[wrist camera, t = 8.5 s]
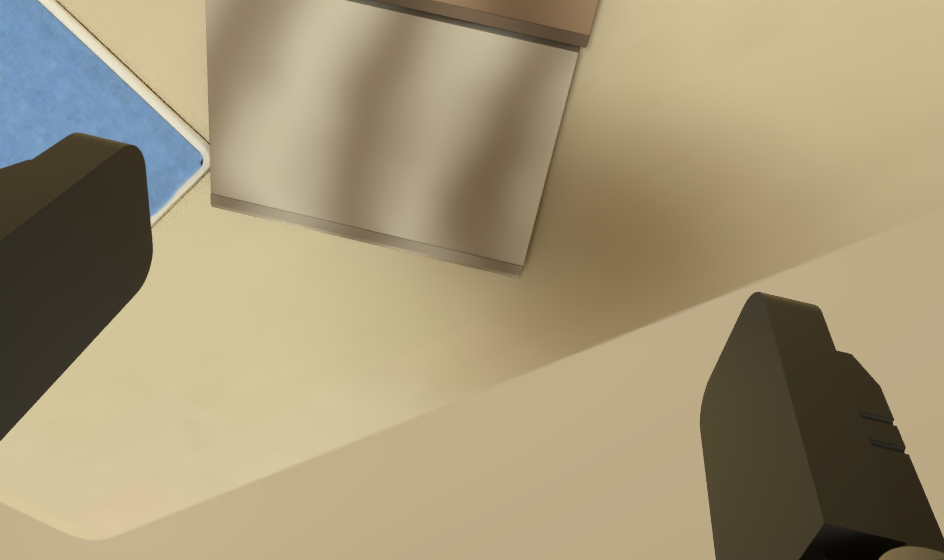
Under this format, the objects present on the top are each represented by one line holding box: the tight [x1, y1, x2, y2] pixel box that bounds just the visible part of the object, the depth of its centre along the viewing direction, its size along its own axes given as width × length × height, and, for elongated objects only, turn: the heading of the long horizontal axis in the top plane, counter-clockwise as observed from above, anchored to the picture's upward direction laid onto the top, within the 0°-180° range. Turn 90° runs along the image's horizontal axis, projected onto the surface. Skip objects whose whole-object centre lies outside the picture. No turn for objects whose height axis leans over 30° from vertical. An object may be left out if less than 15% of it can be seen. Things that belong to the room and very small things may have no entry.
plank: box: [205, 0, 579, 279], centre depth 37 cm, size 16×12×2 cm
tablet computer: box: [0, 0, 210, 227], centre depth 39 cm, size 19×13×1 cm, turn 42°
